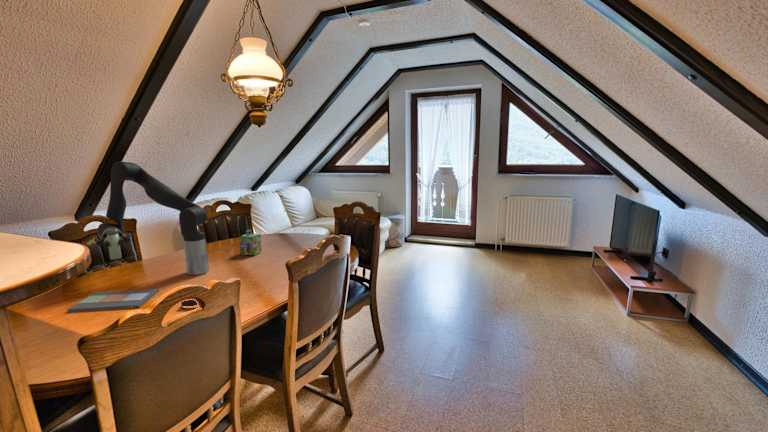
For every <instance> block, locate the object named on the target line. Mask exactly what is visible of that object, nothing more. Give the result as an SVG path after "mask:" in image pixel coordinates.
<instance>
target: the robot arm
mask: <svg viewBox="0 0 768 432" xmlns="http://www.w3.org/2000/svg"><path fill="white" fill-rule="evenodd" d="M125 181H129V182H130V181H131V182H134V183H136V184H138V185H139V186H141V187H142V188H143V189H144V192H145V193H146V196H147V197H148V198H150V199H151V201H154V202H155V203H157V204H159V205H161V206H162V207H166V208H169V209H173V210H176V211H178V212H179V214H178V222H179V228H180V233H181V236H182V238H183V245H184V255H185V256H184V257H185V267H186V270H185V271H186V275H189V276H199V275H204V274H206V273H208V272H209V270H210V263H209V255H208V253H209V252H207V247H206V235H205V232H202V231H199V229H198V226H199V225H202V224H204V223H206V222H207V220H208V214H207V211H206V210H205V209H204V208H203V207H201V206H200V205H198V204H196V203H194V202H192V201H190V200H189V199H187V198H186V197H183V195H181V194H179V193H178V192H176V191H175V190H173V189H172V188H171V187H169V186H168V185H166V184H164V183H163V182H162V181H160V180H159V179H157V178H155V177H153V176H152V175H151V174H149V173H148V172H147V171H146V170H145V169H144V168H143V167H141V165H139V164H137V163H135V162H127V161H116V162H114V163H113V165H112V166H111V170H110V184H109V187H110V190H109V202H108V205H107V210H106V213H105V217H106V219H108V220H111V221H114V222H116V223H111V222H102V223H100V224H99V225H98V227H97V234H98V237H101V238H100V239H99V238H93V245H94V246H97V247H103V246H104V247H106V248H109V245H108V240H107V232H106V230H108V229H118V234H119V243H120V247H121V246H123V245H124V244H129V243H131V241H132V240H133V239H132V235H131V234H128V235H126V236H124V235H125V225H124V217H125V212H126V210H127V209H126V207H127V200H126V197H125V194H124V190H123V189H124V183H125Z"/></svg>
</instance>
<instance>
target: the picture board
mask: <svg viewBox="0 0 768 432" xmlns="http://www.w3.org/2000/svg"><path fill="white" fill-rule="evenodd" d="M159 292H160V291H159V288H150V289H147V288H146V289H129V290H112V291H110V290H108V291H95V292H93V293H92V294H90V295H88V296H87V297H85V298H84V299H82V300H80V301H79V302H77V303H75V304H74V305H72V306H71V307H69V308H67V312H68V313H76V312H77V313H78V312H79V313H81V312H92V311H93V312H95V311H107V310H108V311H109V310H110V311H111V310H112V309H113V310H126V309H125V308H129V309H137V308H136V307H140V308H141V307H143V305H144V304H146V303H147V302H149V300H150V299H151V298H153V297H154V296H155V295H157V294H158V293H159ZM131 307H133V308H131Z"/></svg>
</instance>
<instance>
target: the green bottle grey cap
mask: <svg viewBox="0 0 768 432" xmlns="http://www.w3.org/2000/svg"><path fill="white" fill-rule="evenodd" d="M106 232H107V240H108V245H109V247H108V252H109V259H110V260H119V259H122V258H123V257H122V250H121V246H120V243H119V234H118V229H108V230H106Z"/></svg>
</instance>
